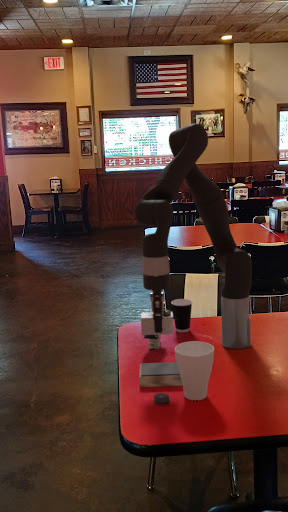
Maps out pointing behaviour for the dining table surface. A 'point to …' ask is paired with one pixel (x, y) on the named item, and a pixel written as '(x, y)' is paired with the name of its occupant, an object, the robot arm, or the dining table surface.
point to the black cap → (161, 398)
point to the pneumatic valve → (153, 341)
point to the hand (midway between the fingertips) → (158, 328)
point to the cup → (194, 367)
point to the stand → (159, 374)
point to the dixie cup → (182, 314)
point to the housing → (148, 323)
